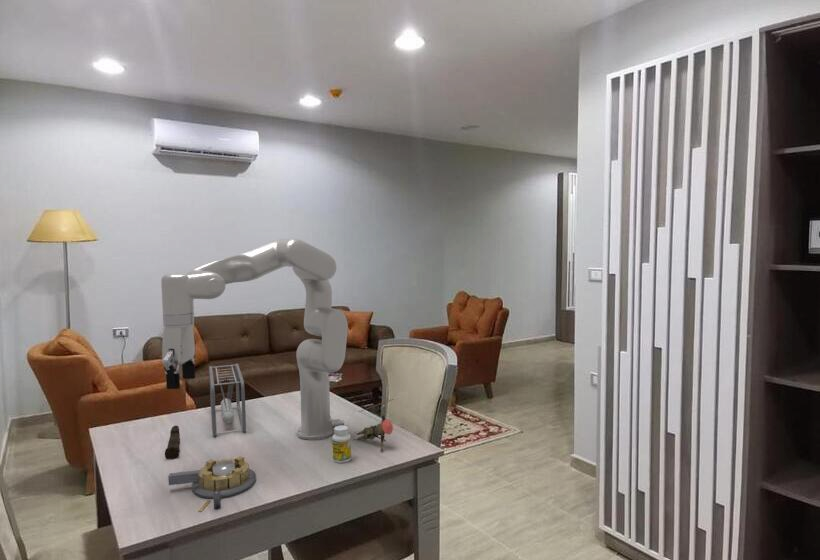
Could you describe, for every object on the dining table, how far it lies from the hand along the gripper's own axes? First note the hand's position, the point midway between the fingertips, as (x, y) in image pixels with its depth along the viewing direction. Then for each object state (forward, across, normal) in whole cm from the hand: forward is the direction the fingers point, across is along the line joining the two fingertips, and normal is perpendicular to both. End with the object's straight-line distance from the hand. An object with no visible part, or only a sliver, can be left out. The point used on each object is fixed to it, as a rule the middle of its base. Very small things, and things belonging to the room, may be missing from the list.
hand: (181, 383), depth 138 cm
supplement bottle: (+27, -11, +41) cm, 50 cm away
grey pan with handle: (+25, +4, +8) cm, 27 cm away
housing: (+27, +6, +12) cm, 30 cm away
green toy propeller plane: (+27, -24, +50) cm, 62 cm away
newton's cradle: (+27, -45, -4) cm, 52 cm away
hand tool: (+27, -22, -13) cm, 37 cm away
